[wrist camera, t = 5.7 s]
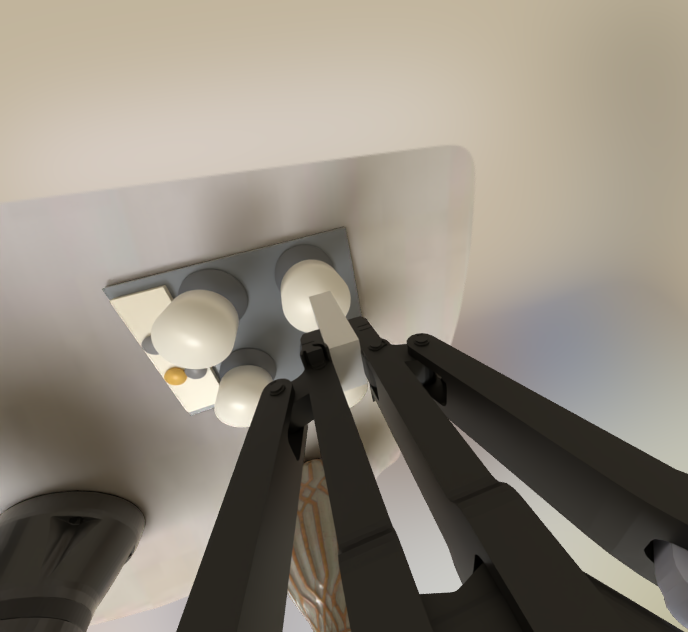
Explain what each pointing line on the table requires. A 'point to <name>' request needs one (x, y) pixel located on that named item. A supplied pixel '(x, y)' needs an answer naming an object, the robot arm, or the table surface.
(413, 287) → the table surface
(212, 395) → the board
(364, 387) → the button
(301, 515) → the vase
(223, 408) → the button
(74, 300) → the table surface
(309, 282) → the button
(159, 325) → the button
